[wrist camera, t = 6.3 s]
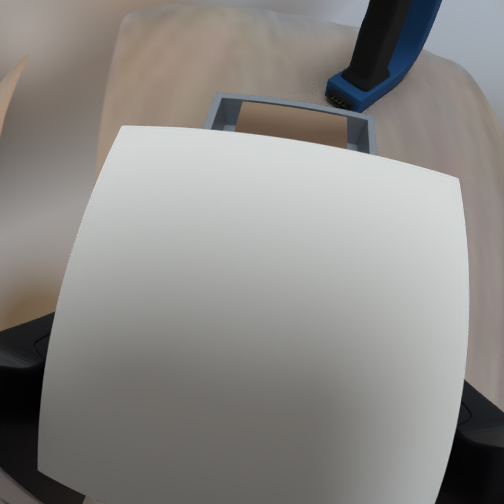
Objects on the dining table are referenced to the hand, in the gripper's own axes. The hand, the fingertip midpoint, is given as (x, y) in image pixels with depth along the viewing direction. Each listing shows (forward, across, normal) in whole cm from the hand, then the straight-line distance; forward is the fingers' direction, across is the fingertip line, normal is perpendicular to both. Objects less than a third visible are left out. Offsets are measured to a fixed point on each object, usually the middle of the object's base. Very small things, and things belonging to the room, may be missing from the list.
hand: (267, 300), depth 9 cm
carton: (+4, 0, +6) cm, 7 cm away
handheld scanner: (+28, -8, -9) cm, 31 cm away
